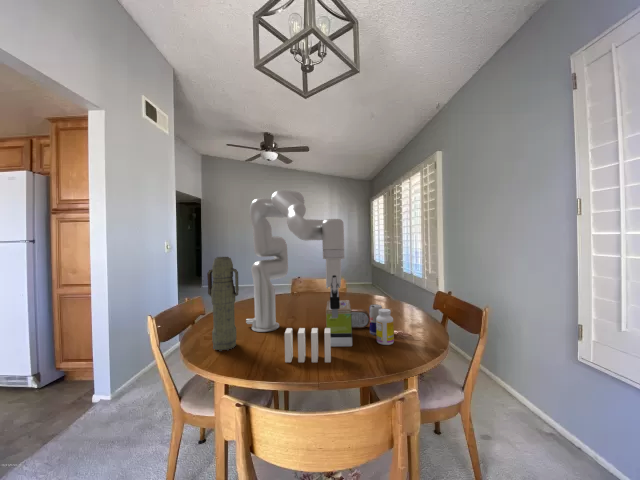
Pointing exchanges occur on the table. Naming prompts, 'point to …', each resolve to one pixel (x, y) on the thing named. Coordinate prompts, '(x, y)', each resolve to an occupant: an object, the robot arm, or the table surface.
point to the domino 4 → (327, 345)
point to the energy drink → (374, 317)
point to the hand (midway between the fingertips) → (334, 306)
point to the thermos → (223, 302)
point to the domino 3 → (314, 344)
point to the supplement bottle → (385, 327)
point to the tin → (360, 318)
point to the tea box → (340, 324)
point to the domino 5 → (334, 311)
